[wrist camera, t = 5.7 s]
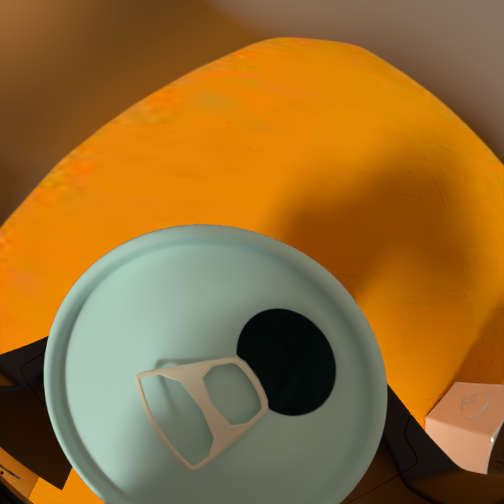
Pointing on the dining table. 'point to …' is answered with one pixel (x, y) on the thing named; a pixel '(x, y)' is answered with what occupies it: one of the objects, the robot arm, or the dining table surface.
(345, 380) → the can
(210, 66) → the dining table surface
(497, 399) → the jar
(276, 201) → the dining table surface
